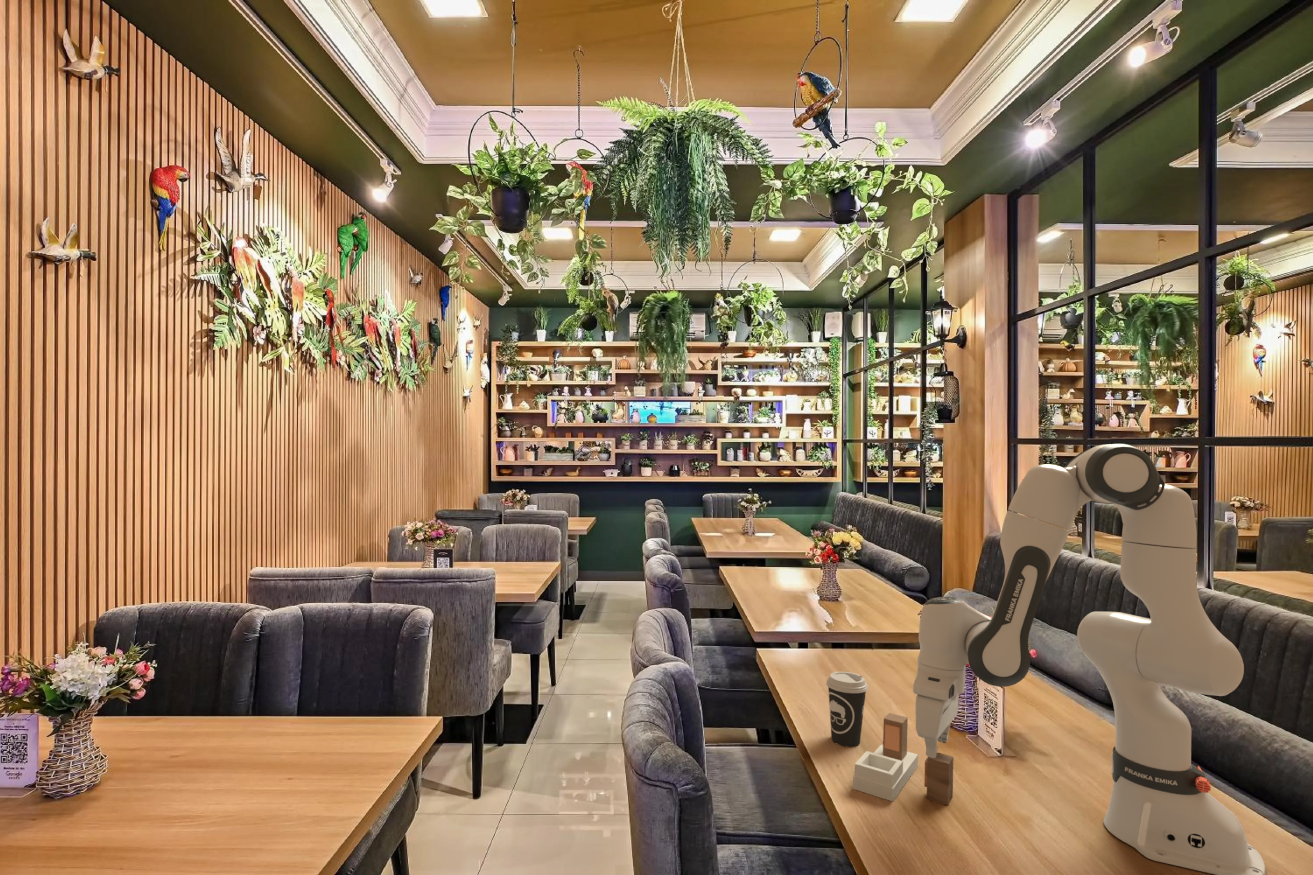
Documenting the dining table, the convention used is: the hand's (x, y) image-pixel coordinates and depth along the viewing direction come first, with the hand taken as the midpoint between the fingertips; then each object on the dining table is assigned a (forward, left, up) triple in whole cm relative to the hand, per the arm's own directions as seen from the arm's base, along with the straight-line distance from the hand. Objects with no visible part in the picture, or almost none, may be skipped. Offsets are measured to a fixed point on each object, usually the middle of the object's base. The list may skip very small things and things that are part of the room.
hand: (937, 748), depth 133 cm
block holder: (+10, -2, -10) cm, 14 cm away
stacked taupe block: (-1, 0, -10) cm, 10 cm away
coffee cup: (+23, -14, -10) cm, 29 cm away
